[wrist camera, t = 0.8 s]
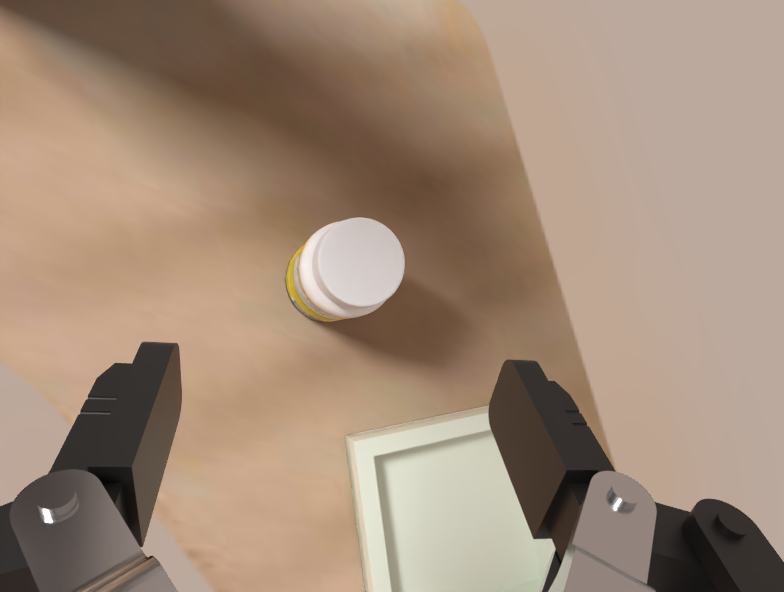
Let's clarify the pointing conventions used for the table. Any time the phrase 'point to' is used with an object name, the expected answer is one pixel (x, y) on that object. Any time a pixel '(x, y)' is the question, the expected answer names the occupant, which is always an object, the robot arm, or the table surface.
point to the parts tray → (440, 509)
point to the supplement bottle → (345, 270)
